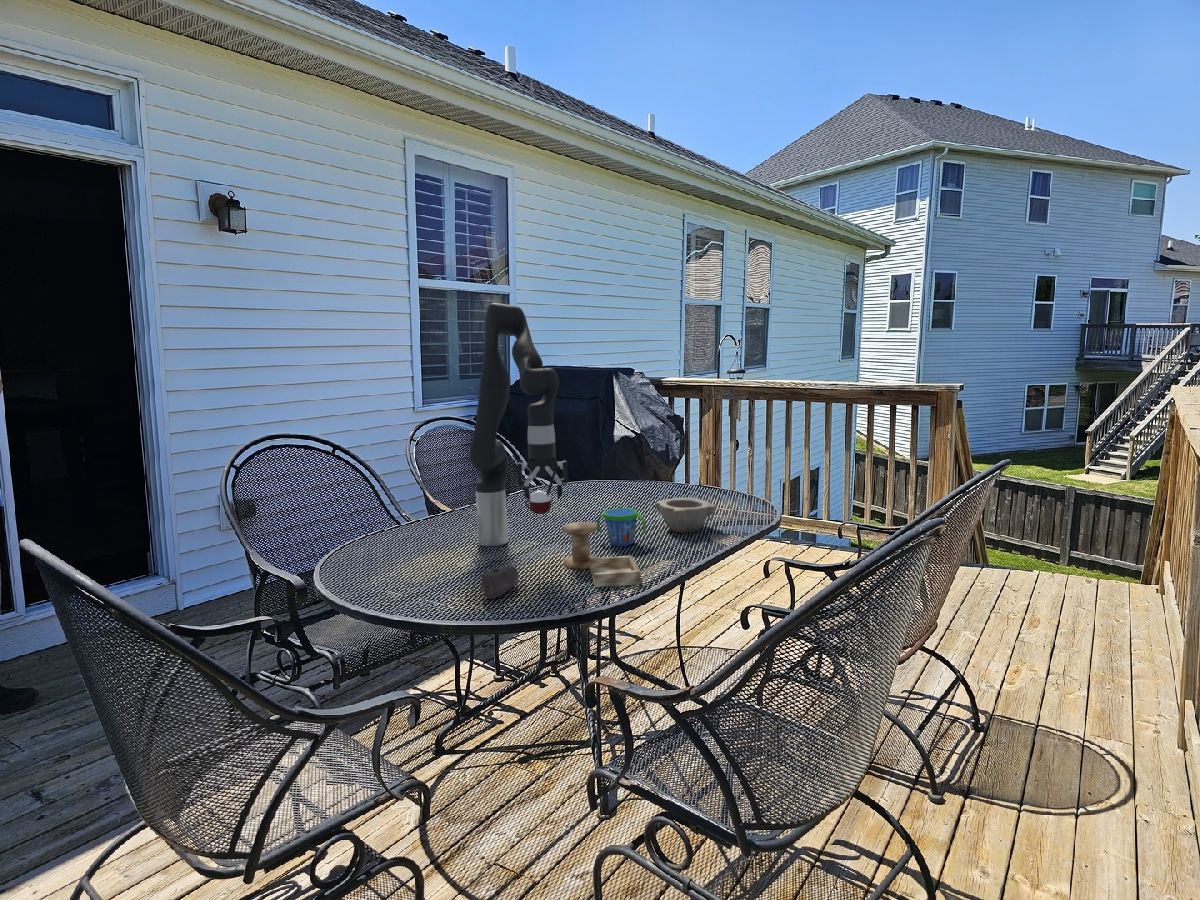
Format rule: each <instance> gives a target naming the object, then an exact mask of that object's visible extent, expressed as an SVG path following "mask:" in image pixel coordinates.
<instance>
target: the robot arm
mask: <svg viewBox="0 0 1200 900" xmlns="http://www.w3.org/2000/svg"><path fill="white" fill-rule="evenodd" d="M484 320H485V321H484V337H483V340H484V341H483V342H484V343H483V356H482V363H481V364H482V365H481V373H480V380H479V388H478V398H477V400H478V401H477V405H476V406H477V409H476V417H475V425H474V430H473V435H472V440H471V444H470V448H469V461H470V464H471V466H472V467H473V468H474V469H475V470H477V471H479V476H478V478H477V480H476V482H475V499H476V513H477V515H476V523H477V524H476V525H477V542H478V546H479V547H480V546H481V547H482V546H483V547H497V546H502V545H505V544H508V542H509V534H508V533H509V532H508V516H507V514H508V513H507V500H506V482H507V478H508V466H507V465H508V463H507V462H508V461H507V451H506V448H505V445H504V443H503V442H501V440H499V439H497V436H498V435H497V434H498V427H499V425H500V422H501V419H503V418H502V417H503V416H504V413H505V411H506V409H507V405H508V402H509V398H510V389H511V376H510V373H509V371H508V368H507V367H506V365H505V363H504V360H503V359H502V356H501V353H500V349H499V336H507V337H515V338H516V339H515V341H514V343H513V345H512V349H511V356H512V359H513V361H514V364H515V365H516V367H517V369H518V374H519V387H520V389H521V391H522V392H523V393H525V395H529V396H533V395H534V396H535V395H543V396H542V398H541V400H540V401H539V400H538V401H537V402H533V403H531V404H529V405H528V407H527V455H528V461H527V462H521V461H519V462H517V466H516V467H517V472H516V473H517V475H516V476H517V479H516V481H517V485H521V486H523V491H524V493H523V495H524V498H525V499H527V500H530V495H531V493H530V484H531V482H532V481H533V480H534V478H537V479H541V478H549V477H551V478H552V475H553V472H554V471H556V469H557V468H558V467H559V468H560V469H561V470H562V474H563V475H562V476H563V478H560V477H559V475H558V474H557V473H556V475H555V477H554V482H555V483H556V492H557V493H556V496H557V497H556V498H557V499H561V497H562V496H563V485H564V484H568V482H569V471H568V469H569V468H568V462H567V460H566V459H565V460H562V461H557V458H556V456H557V455H556V436H555V435H556V431H555V425H554V407H555V400H556V396H557V392H558V388H559V384H560V383H559V382H560V381H559V375H558V372H556V371H555V370H556V369H554V368H551V367H548V368H547V367H545V368H543V366H544V364H543V360H542V358H541V356H540V354H539V352H538V351H537V348H536V347H535V345H534V342H533V340H532V335H531V333H530V328H529V325H528V321H527V317H526V314H525V313H524V310H523V309H522V308H521V307H520V306H519V305H518V306H517V305H513V304H506V303H505V304H504V303H498V302H497V303H496V302H492V303H490V304H489V305H488V307H487V309H486V313H485V319H484ZM526 468H527V469H528V470H529V471H530V473H529V474H528V475H527V478H526V479H523V472H524V471H525V469H526Z"/></svg>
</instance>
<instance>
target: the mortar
mask: <svg viewBox="0 0 1200 900" xmlns="http://www.w3.org/2000/svg"><path fill="white" fill-rule="evenodd" d="M654 507H655V509H656V511H657V512H658V513H660V514H661V516H662V519H663V520H664V522H665V524H666V526H667V527H668V528H669V530H670V531H672V532H675V533H694V532H698V531H699V530H701V529H702V527H703V526H704V524H705V522H706V520H707V519H708V518H709V517H710V516H712V515H713V514H715V513H716V511H717V509H718V507H717V505H716V504H713V503H710V502H709V501H707V500H703V499H700V498H696V497H692V496H690V497H689V496H687V497H677V498H676V497H675V498H666V499H661V500H658V501H656V502H655V503H654Z"/></svg>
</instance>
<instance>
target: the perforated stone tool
mask: <svg viewBox="0 0 1200 900" xmlns="http://www.w3.org/2000/svg"><path fill="white" fill-rule="evenodd" d="M480 578H481V584H480V589H481V590H482V592H483V597H484V598H486V599H489V600H495V599H497V598H500V597H501V596H503V595H505V594H507V593H508V592H509V591H510V590H511V589H512V588H513V587H514V586H515V585H516V583H517V580H518V578H519V572H518V569H517V567H515V566H513V565H504V566H499V567H496V568H493V569H491V570H488V571H486V572H484V573H483V574H481V575H480Z"/></svg>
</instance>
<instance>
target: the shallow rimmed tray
mask: <svg viewBox="0 0 1200 900" xmlns="http://www.w3.org/2000/svg"><path fill="white" fill-rule="evenodd" d="M589 570H590V574H591V578H592V582H593V585H594V588H604V587H619V586H621V587H622V586H632V585H635V586H636V585H642V581H641V579H642V578H641V569H640V568H639V566H638V564H637V562H636V559H635V558H634V556H633V555H622V556H621V555H620V556H619V555H618V556H603V557H602V556H601V557H597V558H590V568H589Z"/></svg>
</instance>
